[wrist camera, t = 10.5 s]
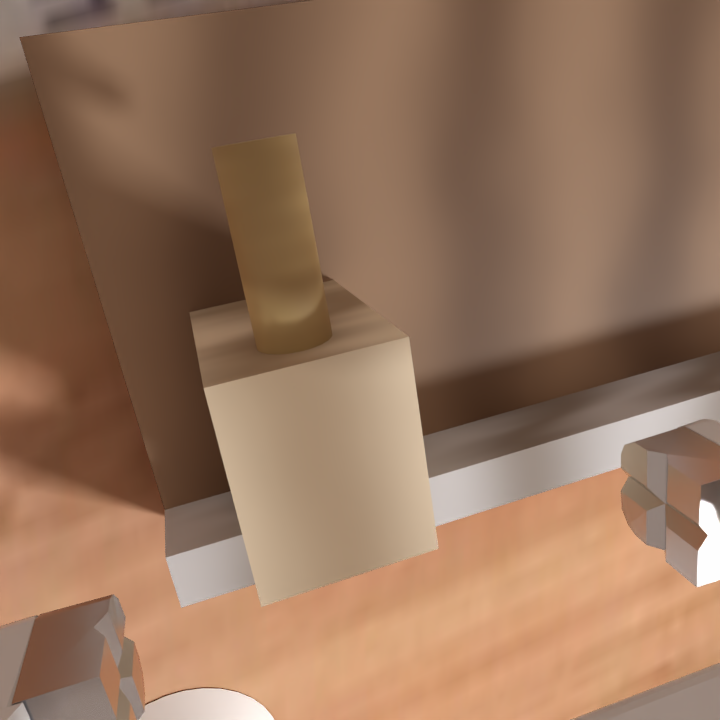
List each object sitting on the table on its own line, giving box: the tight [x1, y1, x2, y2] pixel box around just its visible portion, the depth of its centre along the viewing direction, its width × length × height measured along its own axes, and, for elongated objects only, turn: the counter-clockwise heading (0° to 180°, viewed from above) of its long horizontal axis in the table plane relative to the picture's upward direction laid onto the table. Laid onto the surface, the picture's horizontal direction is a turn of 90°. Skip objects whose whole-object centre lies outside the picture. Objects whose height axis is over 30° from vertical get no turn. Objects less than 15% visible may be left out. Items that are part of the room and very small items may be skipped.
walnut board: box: [20, 0, 720, 608], centre depth 19 cm, size 22×14×4 cm, turn 99°
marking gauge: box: [189, 133, 439, 607], centre depth 15 cm, size 4×9×6 cm, turn 9°
